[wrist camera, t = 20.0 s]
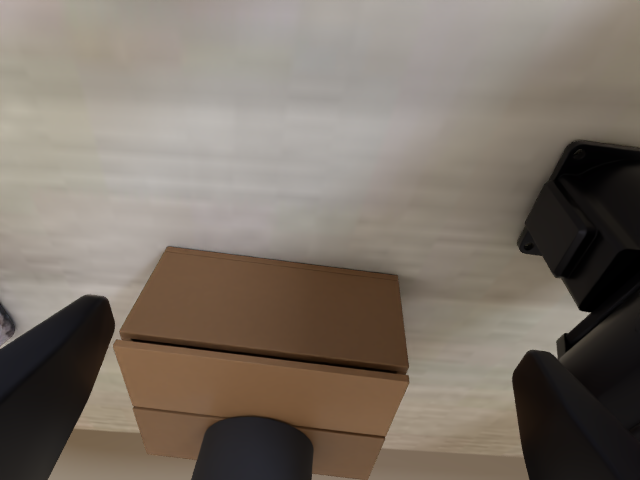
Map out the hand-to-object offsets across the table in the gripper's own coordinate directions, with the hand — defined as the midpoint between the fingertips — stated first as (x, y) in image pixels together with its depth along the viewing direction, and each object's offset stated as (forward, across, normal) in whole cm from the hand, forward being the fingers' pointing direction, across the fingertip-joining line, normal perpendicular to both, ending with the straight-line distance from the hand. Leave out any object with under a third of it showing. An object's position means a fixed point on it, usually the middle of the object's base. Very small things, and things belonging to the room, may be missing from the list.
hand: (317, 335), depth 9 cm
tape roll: (+6, +2, +18) cm, 19 cm away
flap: (+6, +2, +12) cm, 14 cm away
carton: (+13, +2, +15) cm, 20 cm away
